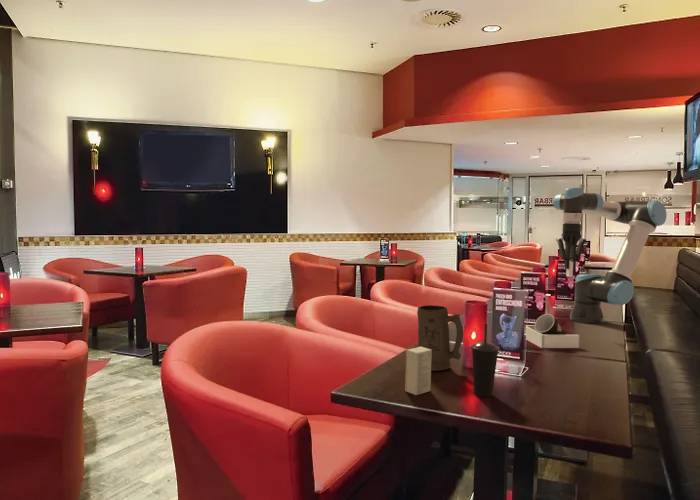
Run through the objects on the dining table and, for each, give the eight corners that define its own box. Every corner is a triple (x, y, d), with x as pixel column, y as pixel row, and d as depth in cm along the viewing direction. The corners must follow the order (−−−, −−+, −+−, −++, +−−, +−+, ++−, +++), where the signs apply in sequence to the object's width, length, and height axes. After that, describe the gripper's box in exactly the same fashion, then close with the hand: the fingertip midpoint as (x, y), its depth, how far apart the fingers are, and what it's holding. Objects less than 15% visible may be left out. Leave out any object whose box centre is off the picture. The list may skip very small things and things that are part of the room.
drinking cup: (480, 400, 140) (483, 327, 139) (463, 391, 147) (466, 322, 146) (503, 397, 143) (506, 326, 142) (485, 388, 150) (488, 320, 149)
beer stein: (411, 369, 167) (413, 308, 166) (419, 361, 177) (421, 303, 176) (460, 375, 162) (462, 312, 161) (464, 366, 172) (467, 307, 171)
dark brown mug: (555, 325, 213) (541, 312, 209) (572, 329, 205) (558, 315, 201) (541, 349, 210) (527, 336, 207) (558, 354, 203) (543, 341, 199)
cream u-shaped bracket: (556, 336, 218) (556, 325, 218) (578, 347, 200) (579, 335, 200) (521, 336, 217) (522, 325, 216) (541, 348, 199) (542, 335, 199)
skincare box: (419, 387, 150) (421, 346, 150) (431, 391, 147) (432, 349, 146) (404, 391, 146) (405, 349, 146) (415, 396, 143) (416, 352, 142)
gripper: (562, 222, 224) (559, 277, 225) (590, 223, 225) (587, 277, 226) (553, 222, 231) (551, 275, 233) (581, 223, 232) (578, 275, 234)
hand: (569, 276), depth 230 cm, fingers closed
